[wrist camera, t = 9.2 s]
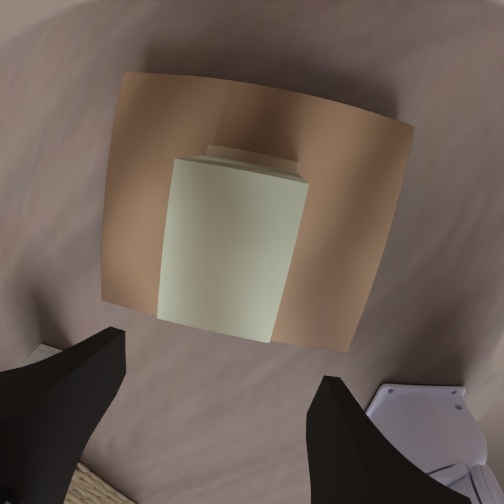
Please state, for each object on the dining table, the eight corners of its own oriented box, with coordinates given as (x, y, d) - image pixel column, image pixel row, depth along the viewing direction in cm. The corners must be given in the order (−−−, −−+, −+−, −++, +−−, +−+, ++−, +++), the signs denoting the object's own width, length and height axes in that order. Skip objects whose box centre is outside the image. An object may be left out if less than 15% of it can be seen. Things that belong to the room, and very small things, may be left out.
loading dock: (397, 128, 17) (414, 126, 14) (340, 332, 21) (346, 352, 19) (141, 79, 17) (124, 72, 15) (117, 284, 21) (101, 300, 19)
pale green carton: (298, 161, 16) (312, 169, 10) (269, 287, 18) (266, 353, 12) (212, 145, 16) (177, 143, 10) (192, 271, 18) (156, 328, 12)
